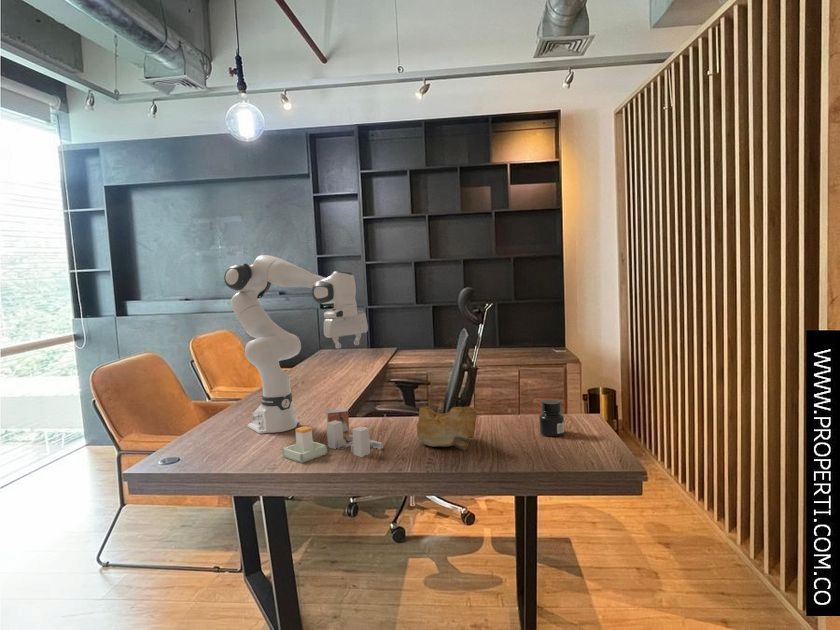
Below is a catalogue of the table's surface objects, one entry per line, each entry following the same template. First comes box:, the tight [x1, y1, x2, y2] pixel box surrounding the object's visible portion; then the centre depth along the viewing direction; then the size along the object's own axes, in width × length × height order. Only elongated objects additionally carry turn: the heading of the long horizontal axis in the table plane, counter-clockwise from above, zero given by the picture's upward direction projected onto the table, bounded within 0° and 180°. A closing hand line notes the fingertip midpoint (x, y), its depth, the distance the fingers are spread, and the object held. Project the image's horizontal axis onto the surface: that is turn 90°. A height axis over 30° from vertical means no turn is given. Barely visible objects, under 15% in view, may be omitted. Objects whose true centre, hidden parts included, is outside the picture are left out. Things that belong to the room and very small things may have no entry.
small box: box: [325, 407, 350, 439], centre depth 189 cm, size 8×6×10 cm
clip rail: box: [337, 433, 384, 455], centre depth 177 cm, size 18×10×3 cm, turn 49°
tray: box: [282, 440, 328, 464], centre depth 171 cm, size 11×11×3 cm
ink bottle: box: [538, 399, 565, 438], centre depth 182 cm, size 10×9×12 cm
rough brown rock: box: [416, 405, 478, 451], centre depth 176 cm, size 23×17×15 cm
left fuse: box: [326, 420, 344, 450], centre depth 178 cm, size 4×4×9 cm
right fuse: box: [351, 425, 371, 458], centre depth 169 cm, size 4×4×9 cm
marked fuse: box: [294, 425, 314, 453], centre depth 170 cm, size 4×4×9 cm
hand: (347, 346), depth 194 cm, fingers open, 8 cm apart
